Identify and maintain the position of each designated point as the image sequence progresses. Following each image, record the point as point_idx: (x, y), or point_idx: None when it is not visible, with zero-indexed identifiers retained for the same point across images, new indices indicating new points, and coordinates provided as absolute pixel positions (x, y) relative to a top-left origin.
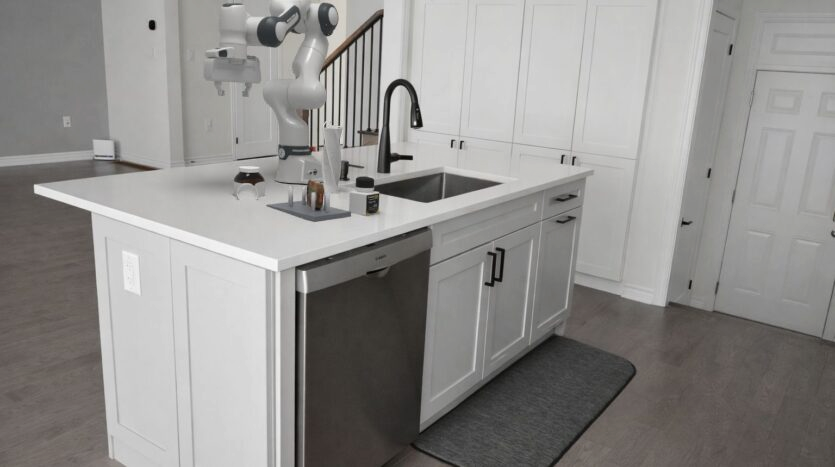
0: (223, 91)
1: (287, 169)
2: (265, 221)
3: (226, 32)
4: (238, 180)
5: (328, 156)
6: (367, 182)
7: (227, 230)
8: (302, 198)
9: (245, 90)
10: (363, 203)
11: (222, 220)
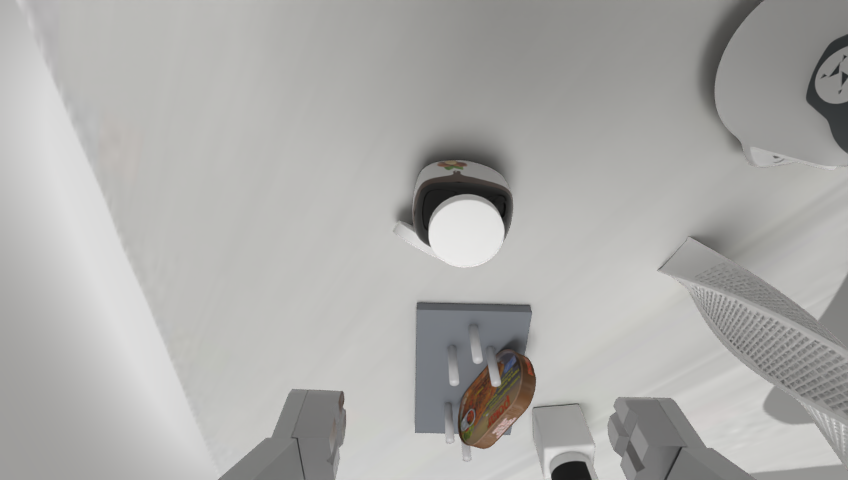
0: (323, 468)
1: (766, 106)
2: (339, 384)
3: None
4: (413, 223)
5: (744, 363)
6: None
7: (243, 401)
8: (487, 361)
9: (686, 471)
10: (538, 455)
11: (270, 342)
